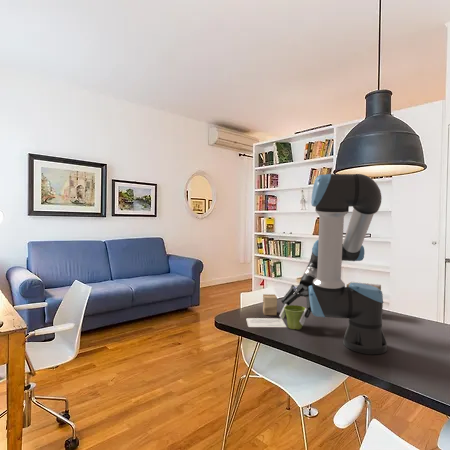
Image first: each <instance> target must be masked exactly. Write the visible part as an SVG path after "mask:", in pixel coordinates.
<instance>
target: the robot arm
mask: <svg viewBox="0 0 450 450" xmlns="http://www.w3.org/2000/svg"><path fill="white" fill-rule="evenodd" d="M313 182H314V183H313V188H312V193H311V201H310V203H311V206H312V207H315V212H316V213H317V215H319V217H318V219H319V221H318V239H317V240H315V242H314V243H313V246H312V249H311V255H310V259H309V262H308V263H307V266H306V268H305V270H304V272H303V274H302V276H301V279H300V280H299V283H298V285H297V286H296V285H294V284H292V285H291V286H290V289H288V291H286V293H285V295H284V296H283V297H282V298H281V299H280V300H281V303H282V304H283V305H282V307H281V311H280V313H279V316H278V317H279V318H281V319H282V320H284V319H285V317H286V312H285V309H284V307H285V306H288V305H292V303H293V302H294V301H295V300H297V299H298V298H301V297H304V298H306V299H305V301H306V307H305V310H304V312H303V314H302V316H301V319H300V321H299V322H300V323H301V325H302V326H304V324H305V321H306V319H308V318H309V317H310V316H311V315H310V314H311V313H312V315H313V316H314V317H319V318H324V319H325V318H328V319H329V318H333V319H334V318H335V319H348V325H347V327H346V329H345V333H344V335H343V339H342V340H343V342H342V343H343V346H344V347H345V348H347V349H349V350H351V351H354V352H355V353H361V354H365V355H381V354H385V353H386V352H387V350H388V348H387V347H388V342H387V341H386V337H385V334H384V330H383V310H384V308H383V307H384V306H383V305H384V304H383V303H384V297H383V295H384V294H383V291H382V289H381V290H380V289H378V288H376V287H374V286H370V285H366V284H361V283H362V282H358V283H350V282H349V283H350V285H349V287H347V286H346V283H345V282H344V281H343V280H342V262H344V261H345V262H347V261H348V262H360V261H363V260H364V258H365V247H364V245H363V243H364V241H365V238H366V235H367V233H368V230H369V227H370V225H371V222H372V219H373V217H374V214H377V212H378V211H379V210H380V208H381V204H382V199H383V198H382V192H381V189H380V187H379V186H378V185H379V184H377V182H376V181H374V179H373V178H372V177H370V176H368V175H365V174H362V173H332V174H331V173H327V174H325V173H324V174H319V175H317V176H316V178H315V180H314V181H313ZM350 207H352V209H353V210H352V212H351V216H350V220H349V221H348V225H347V229H346V233H345V236H344V220H345V216H346V215H347V214H348V213H349V211H350Z"/></svg>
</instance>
